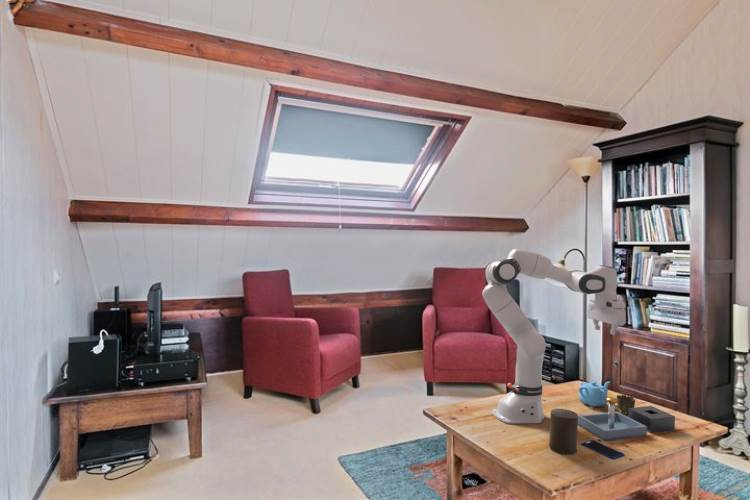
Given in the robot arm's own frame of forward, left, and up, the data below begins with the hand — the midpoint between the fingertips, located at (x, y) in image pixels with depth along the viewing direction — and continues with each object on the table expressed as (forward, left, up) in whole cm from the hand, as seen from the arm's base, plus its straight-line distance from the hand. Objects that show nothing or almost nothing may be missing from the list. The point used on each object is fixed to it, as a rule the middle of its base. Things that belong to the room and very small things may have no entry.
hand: (604, 331), depth 211 cm
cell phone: (-26, -31, -38) cm, 55 cm away
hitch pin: (-10, -17, -36) cm, 41 cm away
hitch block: (+10, -17, -37) cm, 42 cm away
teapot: (+4, +10, -37) cm, 39 cm away
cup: (+9, -4, -37) cm, 39 cm away
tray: (-10, -17, -37) cm, 42 cm away
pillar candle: (-40, -27, -37) cm, 61 cm away
